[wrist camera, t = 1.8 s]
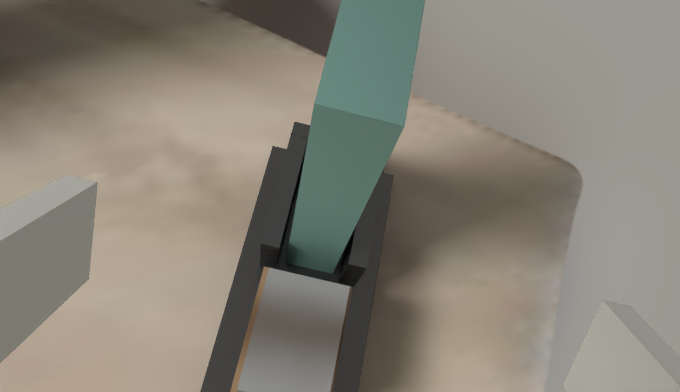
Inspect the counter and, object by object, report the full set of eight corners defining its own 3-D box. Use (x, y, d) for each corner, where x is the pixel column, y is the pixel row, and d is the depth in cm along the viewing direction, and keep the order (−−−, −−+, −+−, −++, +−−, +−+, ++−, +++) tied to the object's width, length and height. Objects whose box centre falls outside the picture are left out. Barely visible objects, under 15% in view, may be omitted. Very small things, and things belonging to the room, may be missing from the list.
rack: (343, 461, 33) (360, 466, 28) (191, 428, 33) (178, 428, 27) (390, 181, 42) (410, 144, 37) (272, 152, 42) (275, 110, 36)
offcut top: (320, 411, 31) (326, 409, 28) (238, 393, 30) (236, 389, 28) (342, 298, 34) (350, 286, 31) (267, 280, 33) (269, 267, 31)
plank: (332, 273, 37) (404, 126, 19) (285, 262, 37) (314, 103, 19) (349, 189, 40) (425, -5, 22) (306, 179, 40) (348, -26, 22)
